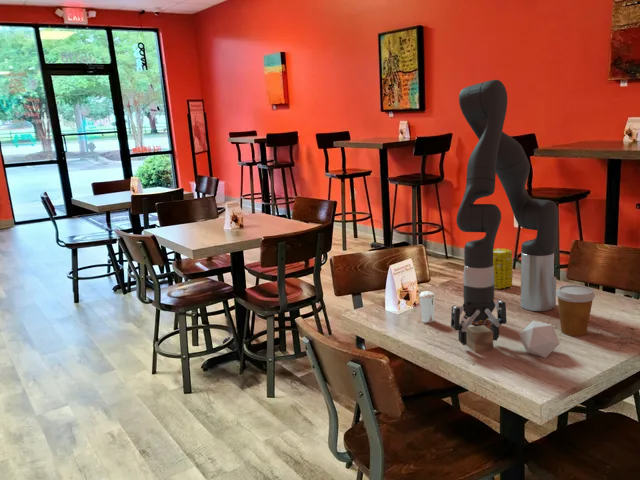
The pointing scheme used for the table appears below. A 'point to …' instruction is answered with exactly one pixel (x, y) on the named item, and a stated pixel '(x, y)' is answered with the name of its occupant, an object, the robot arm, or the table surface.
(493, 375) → the table surface
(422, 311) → the milkshake
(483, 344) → the walnut cube
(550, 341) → the die
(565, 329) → the disposable coffee cup
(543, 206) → the robot arm
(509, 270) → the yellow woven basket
